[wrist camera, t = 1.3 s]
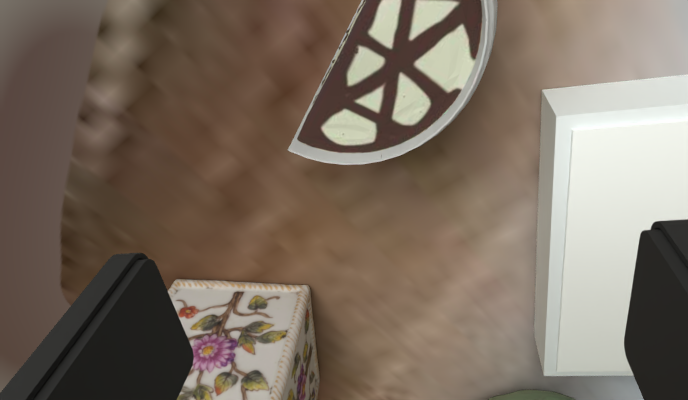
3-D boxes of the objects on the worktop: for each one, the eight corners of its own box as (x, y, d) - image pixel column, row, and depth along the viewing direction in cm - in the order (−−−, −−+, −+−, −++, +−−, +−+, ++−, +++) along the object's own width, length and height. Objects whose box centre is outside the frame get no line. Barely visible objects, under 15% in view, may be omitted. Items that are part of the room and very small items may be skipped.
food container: (406, 130, 33) (400, 217, 25) (319, 85, 32) (282, 159, 24) (528, -63, 27) (576, -34, 18) (423, -126, 26) (424, -126, 17)
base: (817, 60, 28) (876, 88, 24) (735, 330, 38) (768, 378, 34) (541, 89, 31) (557, 118, 27) (533, 334, 41) (544, 379, 37)
